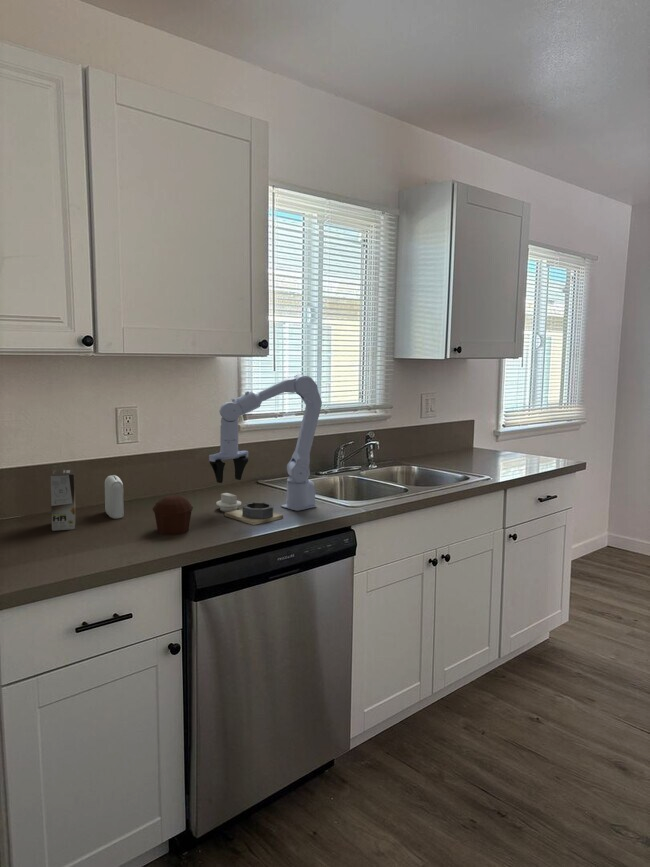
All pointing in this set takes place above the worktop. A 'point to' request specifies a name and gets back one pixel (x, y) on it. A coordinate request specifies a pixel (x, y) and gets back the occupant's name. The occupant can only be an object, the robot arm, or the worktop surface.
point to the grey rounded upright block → (114, 497)
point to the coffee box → (63, 499)
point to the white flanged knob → (228, 502)
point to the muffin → (172, 515)
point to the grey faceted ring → (258, 510)
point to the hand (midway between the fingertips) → (228, 481)
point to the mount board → (239, 516)
